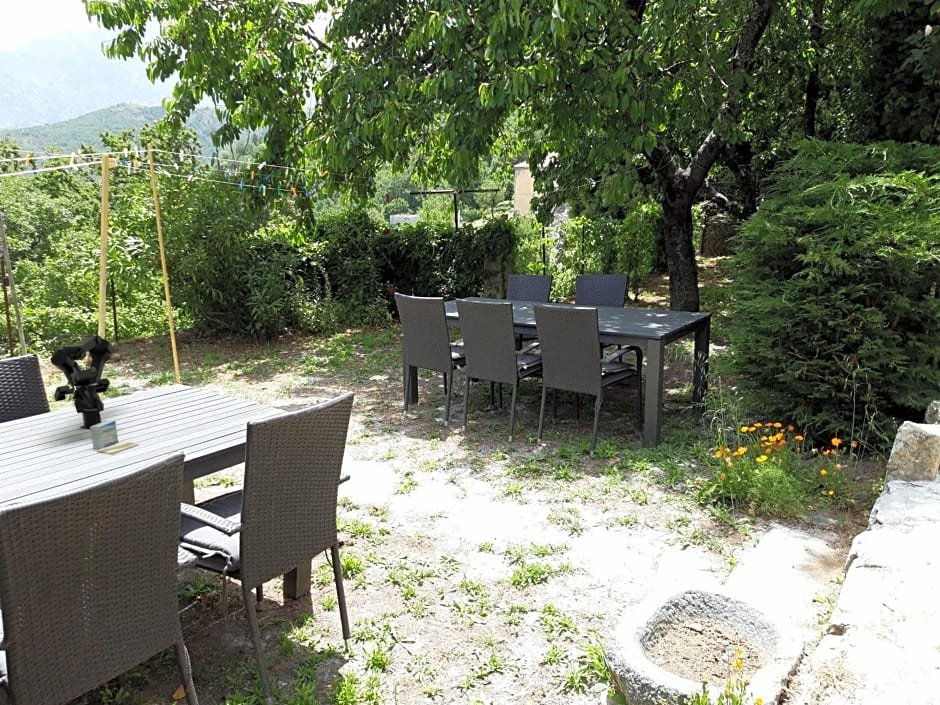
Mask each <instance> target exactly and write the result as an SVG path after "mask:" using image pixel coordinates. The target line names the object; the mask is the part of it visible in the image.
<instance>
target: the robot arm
mask: <svg viewBox="0 0 940 705" xmlns="http://www.w3.org/2000/svg"><path fill="white" fill-rule="evenodd" d="M114 351H115V350H114V346H113V345H112V343H111V342H110V341H109V340H107V339H104V338H102V336H100V335H98V334H92V335H91V334H90V335H86V336H85V337H84V338H83V339H81V340H80V341H78V342H77V343H75V344H70V345H65V346H64V347H62V348H61V349H60V348H59V349H57V352H54V354H52V356H51V357H50V363H51V364H52V365H53V366H54V367H55V368H56V369H58V370H59V371H60V372H62V373H63V374H64V376H65V378H66V379H67V384H66V385H60V386H57V387H56V389H55V391H54V394H53V398H54V400H55V401H56V402H62V401H65V400H66V398H67V396H68V395H72V396H73V397H72V399H73V400H74V402H73V404H74V407H75V408H74V409H75V411H76V413H77V414H82V421H83V425H80V428H82V427H83V428H84V429H90V427H91V426H94V425H96V424H99V423H101V422H102V418H101V417H102V416H101V412H104V409H105V404H104V402H103V401H102V399H101V397H100V395H99V394H101V393H106V392H107V391H108V390H109V387H110V385H111V381H110V380H109V378H107V377H106V378H102V374H103V371H104V367H105V364H106V363H107V362H108V361H110V359H111V358H112V356H113V354H114ZM87 353H89V355H90V357H91V362H90V365H89V368H86V369H81V367H80V365H79V363H78V362H77V361H83V360H85V358H86V357H87ZM70 387H71V388H70ZM66 395H67V396H66ZM83 428H82V429H83ZM90 430H91V429H90Z"/></svg>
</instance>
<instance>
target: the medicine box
mask: <svg viewBox="0 0 940 705" xmlns="http://www.w3.org/2000/svg"><path fill="white" fill-rule="evenodd" d="M90 435H91V442H92V449H93V450H100V449H102V448H105V447H108V446H111V445H114V444H116V443H119V438H118V437H119V436H118V430H117V422H116V421H115V420H104V421H101V423H99V424H96V425H94V426H91V427H90Z"/></svg>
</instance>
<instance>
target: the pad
mask: <svg viewBox="0 0 940 705" xmlns="http://www.w3.org/2000/svg"><path fill="white" fill-rule="evenodd" d="M138 446H140V444H139V442H138V443H137V442H132V441H131V442H130V441H121V442H118V443H117V444H114V445H111V446H108V447H105V448H102V449H96V453H99V452H100V454H105V453H106V455H111V456H112V455H116V454H118V453H120V452H124V451H127V450H129V449H132V448H135V447H138ZM126 449H127V450H126Z"/></svg>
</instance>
